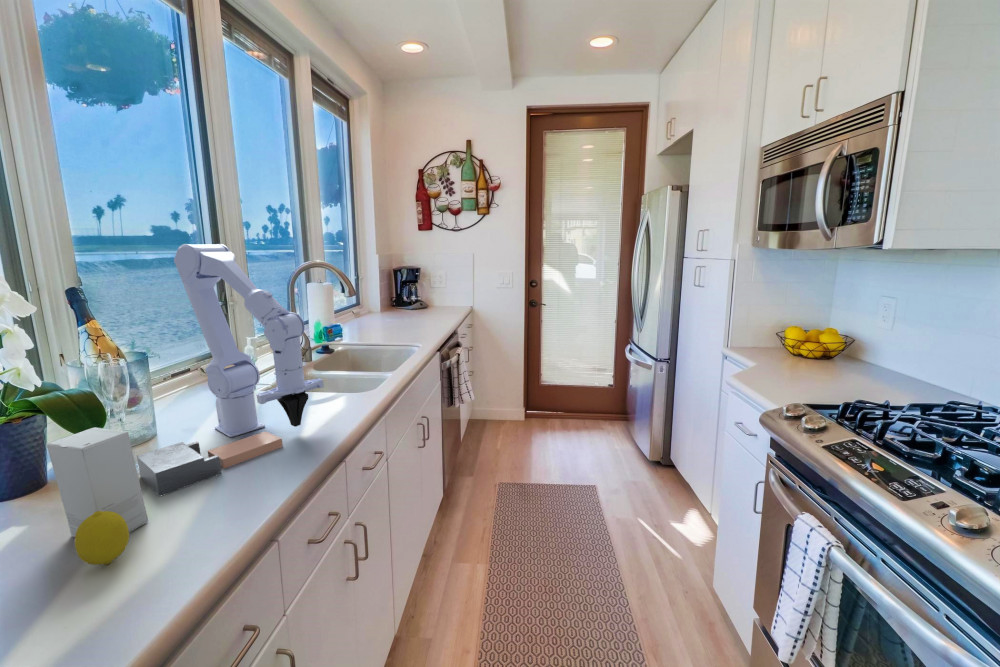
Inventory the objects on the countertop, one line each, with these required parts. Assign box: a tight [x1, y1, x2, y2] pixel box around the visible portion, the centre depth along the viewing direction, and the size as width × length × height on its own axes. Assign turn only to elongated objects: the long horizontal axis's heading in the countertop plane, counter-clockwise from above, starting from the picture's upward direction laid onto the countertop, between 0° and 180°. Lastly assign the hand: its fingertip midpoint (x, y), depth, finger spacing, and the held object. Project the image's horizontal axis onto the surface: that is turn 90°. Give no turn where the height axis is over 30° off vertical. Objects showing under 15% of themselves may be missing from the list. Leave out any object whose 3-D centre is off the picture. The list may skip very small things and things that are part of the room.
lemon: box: [74, 511, 130, 566], centre depth 62 cm, size 6×6×8 cm
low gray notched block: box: [136, 441, 222, 497], centre depth 87 cm, size 11×10×4 cm
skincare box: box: [46, 426, 149, 538], centre depth 69 cm, size 8×7×16 cm
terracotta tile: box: [207, 431, 284, 469], centre depth 96 cm, size 7×12×2 cm, turn 144°
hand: (295, 424), depth 104 cm, fingers closed
